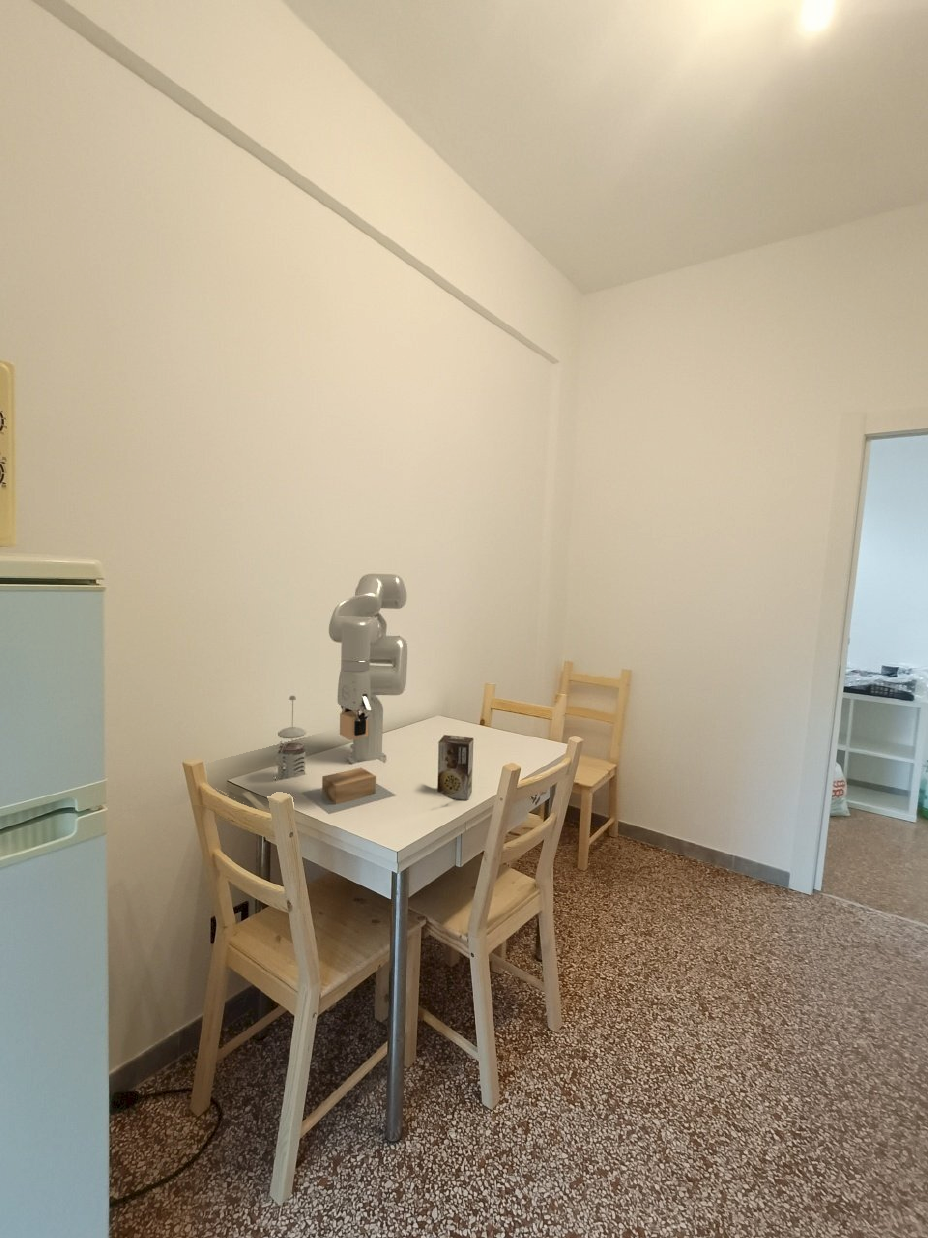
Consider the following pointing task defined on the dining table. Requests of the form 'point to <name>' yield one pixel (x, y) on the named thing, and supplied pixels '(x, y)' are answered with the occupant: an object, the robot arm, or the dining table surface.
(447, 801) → the dining table surface
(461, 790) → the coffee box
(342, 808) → the base plate
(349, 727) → the peach cube
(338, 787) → the walnut brick
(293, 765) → the french press
